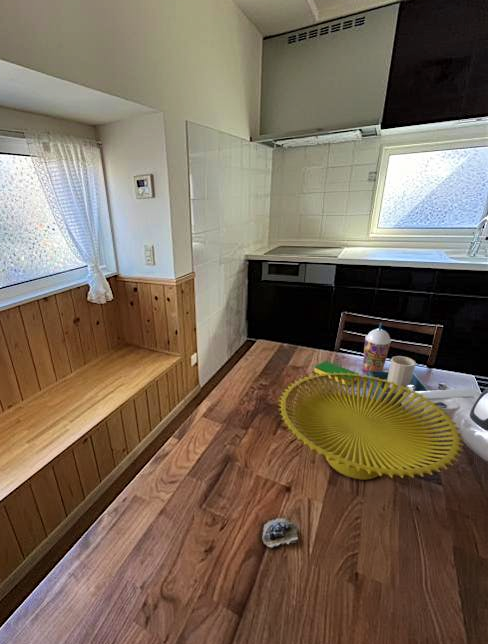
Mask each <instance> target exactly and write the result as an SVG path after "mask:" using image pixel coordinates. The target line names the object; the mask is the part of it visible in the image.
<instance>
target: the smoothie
mask: <svg viewBox="0 0 488 644" xmlns="http://www.w3.org/2000/svg"><path fill="white" fill-rule="evenodd" d="M382 325H383V322H379V326H378V328H375V329H372V330H371V331H369V332H368V334H367V335H365V337H364V347H363V358H362V368H363V371H364V372H365V373H366V374H368V370H375V371H384V367H385V364H386V360H387V357H388V353H389V349H390V346H391V343H392V338H391V337H390V334H389V333H388V331H386V330H384V329H382Z"/></svg>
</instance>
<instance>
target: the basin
mask: <svg viewBox="0 0 488 644" xmlns="http://www.w3.org/2000/svg"><path fill="white" fill-rule="evenodd" d="M388 373H389V370H383V371H375V370H368V373H367V375H366V376H370V375H371V376H372V377H374V378H377V377H378V378H379V379H382V380H385V379H386V380H387V378H388ZM385 383H386V382H383V383H382V385H381V388H380V390H379V392H378V395H377V398H376V401H377V400H378V398H379V396H380V395H381V393H382V391H383V388H384V386H385ZM370 384H371V378H369V380H368V383H367V386H368V387H369V388H370ZM377 384H378V380H376V381H375V384H374V387H373V390H372V394H373V395H374V393H375V390H376V387H377ZM411 385H413V386H414V387H416V389H415V391H417V392H418V391H431V390H430V389H429V387H428V386H427V385H426V384H425V383H424V382H423V381H422V380H421V379H420V378H419V377H418V375H417V374H416V373H415V372H414V373H413V377H412V381H411ZM388 393H389V392H385V394H384V396H383V398H382V401H381V402H383V401H384V399H385V398H386V396H387V395H388ZM403 394H404V393H401V394H400V395H399V396H398V398H397V399H396V400H395V401H394V403H393V404H392V406H393V405H394V404H396V403H397V402H398V401H399V400H400V399H401V398H402V396H403ZM395 395H396V393H395V392H393V394H392V395H391V397H390V398H389V400H388V401H387V403H386V405H387V404H388V403H389V402H390V401H391V400H392V398H393V397H394V396H395ZM392 406H391V407H392ZM400 406H402V404H401V403H400V405H399V406H398V407H400Z"/></svg>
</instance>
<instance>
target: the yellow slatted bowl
mask: <svg viewBox="0 0 488 644" xmlns="http://www.w3.org/2000/svg"><path fill="white" fill-rule="evenodd" d="M356 373H357V372H356ZM356 373H355V374H350V373H349V372H348V374H346V373H342V372H341V373H335V372H334V373H329V372H328V374H323V373H322V374H318V373H315V374H314V375H309V376H304V378H299V380H294V383H293V382H290V385H287V386H286V387H287V388H284V389H283V391H285V392H281V394H282V395H281V396H279V398H281V399H278V402H279V404H278V407H280V408H277V410H278V411H279V412H281V413H279V415H280V416H282V418H280V420H281V421H283V422H284V423H283V425H284V426H287V427H288V428H287V429H286V430H287V431H290V432H292V434H291V435H292V436H294V437H296V438H297V439H296V440H297V441H298V442H302V443H304V444H303V446H305V447H309V448H310V451H311V452H317V453H318V456H319V457H320V456H321V457H325V459H326V461H327V463H328V464H329V465H330V466H331V467H332V468H333V469H334V470H335V471H336V472H338V473H339V474H340V475H341V474H342V475H344V476H345V477H348V478H351V479H354V480H363V481H364V480H365V481H367V480H372V479H375V478H377V477H382V476H383V475H387V476H389V478H394V476H398V477H400V478H402V479H403V478H405V477H404V476H407V477H410V478H415V475H417V476H420V477H424V474H427V475H431V476H432V475H433V472H437V473H441V470H440V469H444V470H449V468H448V467H447V466H446V465H449V466H453V465H454V464H453V463H452V462H453V461H454V462H458V461H459V460H458V458H456V457H462V455H461V454H460V453H459V452H464V449H462V448H460V447H462V446H464V444H463V443H462V442H461V441H463V440H464V439H462V438H460V437H458V435H462V434H461V433H459V432H457V431H456V430H459V429H460V428H457V427H455V426H454V424H456V423H455V422H452V421H451V420H450V419H452V417H449V416H447V415H446V414H447V412H444V411H442V410H441V409H442V407H437V406H436V405H435V404H436V403H433V402H430V401H429V400H430V399H429V398H424V397H422V396H423V395H421V394H417V393H416V391H411V390H409V389H408V388H409V387H407V388H406V387H403V386H401V384H400V385H397V384H395V383H394V382H389V381H387V380H386V379H385V380H382V379H379V378H378V377H377V378H374V377H372V376H371V375H370V376H367V375H365V374H364V373H362V374H359V373H358V374H359V375H358V374H356ZM328 375H330V376H331V378H332V379H331V380H330V378H329V376H328ZM335 375H337V378H338V381H339V382H338V384H337V381H336V380H335ZM341 375H343V376H344V381H345V385H344V384H342V379H341ZM348 375H350V379H351V384H350V385H349V386H348ZM355 376H357V380H356V383H357V384H356V391H355V382H354V378H355ZM323 377H324V378H325V380H326V382H325V380H324V378H323ZM362 378H363V385H362ZM369 378H371V384H370V387H369V388H368V384H367V383H368V380H369ZM318 379H319V380H320V381H319V380H318ZM376 380H378V384H377V387H376V390H375V393H374V394H373V392H372V390H373V387H374V384H375V381H376ZM331 381H332V382H331ZM383 382H386V383H385V386H384V388H383V391H382V393H381V395H380V396H379V398H378V400H377V399H376V398H377V395H378V392H379V390H380V388H381V385H382V383H383ZM326 383H327V385H328V386H327V385H326ZM332 383H333V385H332ZM310 384H311V385H310ZM390 384H393V386H392V388H391V390H390V391H389V393H388V395H387V396H386V398H385V399H384V401H383V402H381V401H382V398H383V396H384V394H385V392H386V391H387V389H388V387H389V386H390ZM316 385H317V386H316ZM338 385H339V387H338ZM361 385H362V392H361ZM311 386H312V387H313V388H312V387H311ZM344 386H345V389H344ZM349 387H350V388H349ZM397 387H400V389H399V390H398V392H397V393H396V395H395V396H394V397H393V398H392V400H391V401H390V402H389V403H388V404H387V405H386V403H387V401H388V400H389V398H390V397H391V395H392V394H393V392H394V391H395V390H396V388H397ZM339 388H340V389H339ZM367 388H368V392H367ZM308 389H309V390H308ZM334 389H335V390H334ZM404 390H407V392H406V393H405V394H404V395H403V396H402V398H401V399H400V400H399V401H398V402H397V403H396V404H394V405H393V406H392V404H393V403H394V401H395V400H396V399H397V398H398V396H399V395H400V394H401V393H402V392H403V391H404ZM301 393H302V394H301ZM411 393H413V394H414V395H413V396H412V397H411V398H410V399H409V400H408V401H407V402H405V403H404V404H403V405H402V406H399V405H400V403H401V402H402V401H403V400H404V399H406V398H407V397H408V396H409V395H410V394H411ZM290 394H291V395H290ZM372 394H373V396H372ZM417 397H420V399H419V400H418V401H416V402H415V403H414V404H412V405H411V406H410V407H408V408H407V409H405V407H406V406H407V405H408V404H409V403H410V402H412V401H413V400H414V399H416V398H417ZM423 401H427V402H426V403H425V404H423V405H422V406H420V407H419V408H417V409H416V410H414V411H412V412H409V411H410V410H411V409H412V408H414V407H415V406H417V405H418V404H420V403H421V402H423ZM429 405H432V407H430V408H429V409H427V410H425V411H423V412H421V413H420V414H417V415H415V416H413V414H415V413H416V412H418V411H420V410H422V409H423V408H425V407H427V406H429ZM436 409H437V410H438V411H437V412H435V413H433V414H431V415H428V416H426V417H423V418H420V419H418V417H420V416H422V415H424V414H426V413H429V412H431V411H433V410H436ZM439 414H441V415H442V416H440V417H438V418H435V419H433V420H430V421H427V422H423V423H421V421H424V420H426V419H429V418H431V417H434V416H436V415H439ZM443 419H446V421H444V422H441V423H438V424H435V425H430V426H424V425H427V424H430V423H433V422H436V421H439V420H443ZM446 424H449V426H447V427H443V428H439V429H437V428H434V427H437V426H442V425H446ZM449 429H451V431H446V430H449ZM442 431H445V432H442ZM437 432H441V433H437ZM450 435H452V436H450ZM441 436H444V437H441ZM451 440H452V441H451ZM437 441H438V442H437ZM442 441H443V442H442ZM443 445H444V446H443ZM445 445H446V446H445ZM447 445H450V446H447ZM432 471H433V472H432Z"/></svg>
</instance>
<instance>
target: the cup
mask: <svg viewBox="0 0 488 644" xmlns="http://www.w3.org/2000/svg"><path fill="white" fill-rule="evenodd" d="M416 365H417V363H416V360H414V359H412V358H410V357H408V356H402V355H395V356H392V357H391V359H390V364H389V369H388V371H389V373H388V378H387V381H389V382H394V383H395V384H397V385H400V384H401V386H403V387H406V388H407V385H411V381H412V377H413V373H415V369H416ZM392 386H393V384H390V386H389V387H388V389H387V391H386V392H389V391H390V390H391V388H392ZM399 389H400V387H397V388H396V390H395V391H394V392H395V393H397V392H398V390H399ZM405 392H407V390H404V391H403V392H402V393H405Z"/></svg>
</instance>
